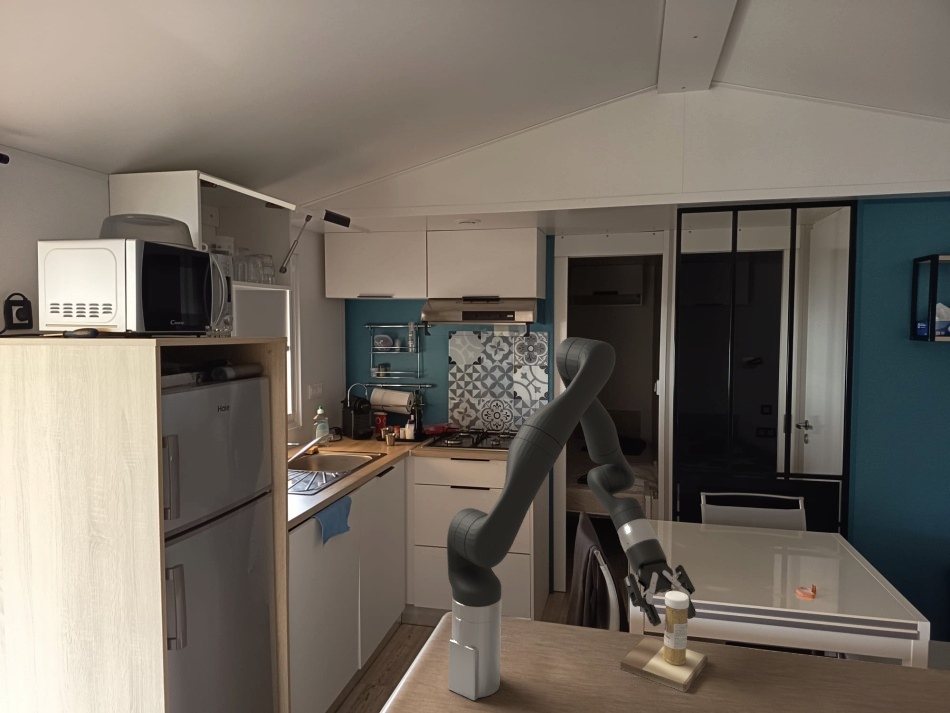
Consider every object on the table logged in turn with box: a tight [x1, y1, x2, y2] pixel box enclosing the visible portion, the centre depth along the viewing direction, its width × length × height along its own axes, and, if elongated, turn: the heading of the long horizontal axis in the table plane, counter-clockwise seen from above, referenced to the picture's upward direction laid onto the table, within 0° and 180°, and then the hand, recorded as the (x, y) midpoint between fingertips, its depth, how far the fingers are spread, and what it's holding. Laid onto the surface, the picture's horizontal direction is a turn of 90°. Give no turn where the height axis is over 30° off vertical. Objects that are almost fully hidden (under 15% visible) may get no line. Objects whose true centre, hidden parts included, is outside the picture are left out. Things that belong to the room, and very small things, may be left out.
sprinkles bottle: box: [663, 591, 689, 665], centre depth 131 cm, size 5×5×14 cm
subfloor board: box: [620, 635, 708, 693], centre depth 132 cm, size 13×13×2 cm
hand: (675, 621), depth 131 cm, fingers open, 8 cm apart
